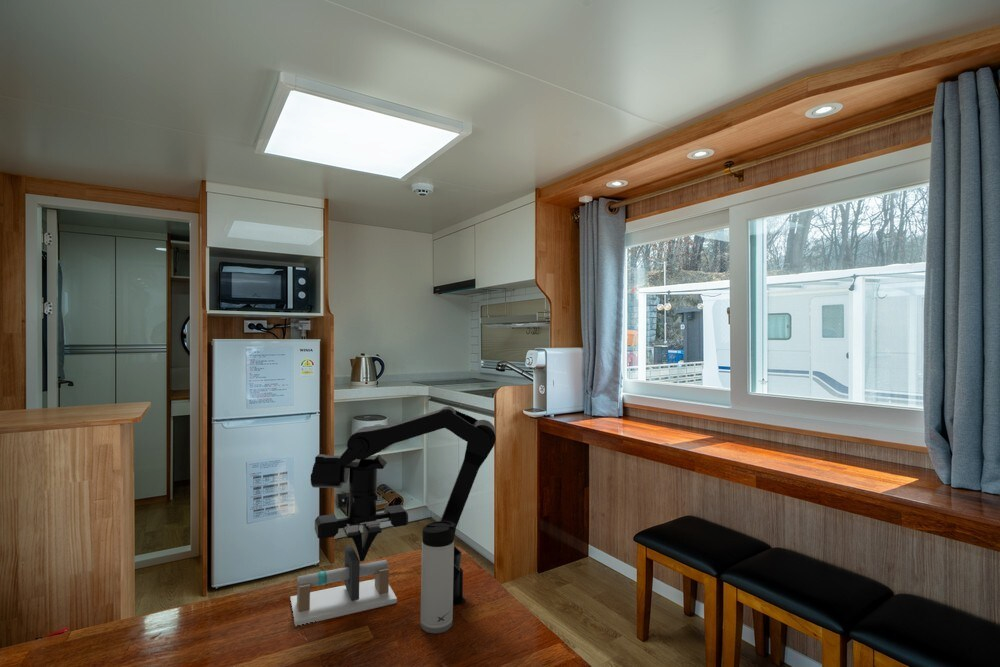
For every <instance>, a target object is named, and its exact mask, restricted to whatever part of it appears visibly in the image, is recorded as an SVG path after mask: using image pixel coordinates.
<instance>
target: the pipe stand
mask: <svg viewBox="0 0 1000 667" xmlns="http://www.w3.org/2000/svg"><path fill="white" fill-rule="evenodd" d="M371 575H374V579H369V580H363V581H359V600H354V601H351V598H350V596H349V593H348V591H347V589H346V586H345V584H344V585H340V586H335V587H330V588H326V589H325V588H324V589H321V590H320V589H319V590H316V591H311V588H312V587H317V586H325V585H327V584H331V583H332V584H333V583H337V582H341V581H344V580H347V579H350V568H349V567H345V566H344V567H339V568H334V569H331V570H330V569H329V570H321V571H317V572H315V573H309V574H304V575H299V576H297V580H296V583H297V584H296V585H297V586H296V587H297V588H296V590H297V591H296V594H295V595H291V596H290V598H289V601H291V602H290V606H292V607H291V611H293V613H292V616H293V617H294V618H293V623H294V627H298V626H297V625H300V626H303V625H302V624H304V625H307V624H306V623H308V624H311V623H310V622H313V623H316V622H320V621H325V620H328V619H334V618H339V617H342V616H346V615H347V616H348V615H351V614H354V613H360V612H364V611H369V610H373V609H376V608H381V607H386V606H390V605H394V604H397V603H398V598H397V596H396V594H395V592H394V591H393V589H392V587H391V585H390V583H389V582H390V581H389V579H390V578H389V577H390V569H389V564H388V559H381V560H377V561H371V562H366V563H360V572H359V578H361V577H362V578H363V577H366V576H371ZM315 621H316V622H315Z"/></svg>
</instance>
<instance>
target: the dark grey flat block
mask: <svg viewBox="0 0 1000 667" xmlns="http://www.w3.org/2000/svg"><path fill="white" fill-rule="evenodd" d="M360 564H361V563H360V560H359V557H358V554H357V552H356V551H355V548H354V547H353V545H347V546H344V568H345V567H349V568H350V579H347V580H343V582H344V583H343V584H344V585H345V586H346V589H347V591H348V593H349V596H350V598H351V601H354V600H359V582H360V577H359V572H360Z"/></svg>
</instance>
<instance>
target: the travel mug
mask: <svg viewBox="0 0 1000 667" xmlns="http://www.w3.org/2000/svg"><path fill="white" fill-rule="evenodd" d="M455 529H456V530H457V527H456V524H455V523H452V522H450V521H439V520H438V521H433V523H431V522H429V523H427V524H426V526H424V527H423V528H422V537H421V538H422V540H421V548H422V550H421V572H420V573H421V576H420V578H421V579H420V582H421V583H420V584H421V585H420V621H419V622H420V623H419V625H420V628H421V629H422V630H423V632H426V633H429V634H442V633H445V632H447V631H448V630H450V628H451V627H452V626H453V618H454V617H453V610H454V609H453V608H454V605H453V571H454V546H455V536H454V530H455Z"/></svg>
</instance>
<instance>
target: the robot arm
mask: <svg viewBox="0 0 1000 667" xmlns="http://www.w3.org/2000/svg"><path fill="white" fill-rule="evenodd" d="M443 429H446V430H447V431H450V432H451V433H453V434H454V435H456V436H457V437H458V438H460V439H461V440H463V441H465V442H466V447H465V448H466V449H465V451H464V453H465V454H464V458H463V461H462V464H461V466H460V469H459V471H458V474H457V476H456V479H455V481H454V484H453V486H452V489H451V492H450V494H449V497H448V500H447V501H446V504H445V507H444V510H443V513H442V515H441V517H440V519H439V520H438V521H450V522H452V523H455V524H456V529H455V530H454V537H455V535H456V530H457V526H458V524H459V521H460V519H461V516H462V514H463V511H464V508H465V506H466V503H467V501H468V498H469V495H470V493H471V490H472V488H473V485H474V482H475V479H476V477H477V474H478V472H479V469H480V468H481V467H482V465H483V463H484V462H485V461H486V459H487V458H488V456H489V455H490V453H491V451H492V449H493V448H494V447H495V445H496V440H497V438H496V436H497V435H496V428H495V425H494V424H493V423H492V422H490V421H489V420H486V419H476V418H475V417H473V416H471V415H469V414H466V413H463V412H461V411H458V410H457V409H455V408H454V407H452V406H444V407H442V408H440V409H438V410H434V411H430V412H428V413H425V414H422V415H419V416H418V415H417V416H414V417H411V418H409V419H405V420H402V421H397V422H395V423H392V424H378V425H377V424H376V425H369V426H363V427H361V428H359V429H358V430H356V431H355V432H354V433H353V434H352V435H351V436H350V437H349V438H348V440H347V444H346V447H347V448H346V450H345V451H344V452H342V453H341V454H340V455H330V454H329V455H328V454H325V453H323V454H322V453H321V454H320V453H319V454H318V455H316V456H315V457H314V464H313V465H312V470H311V474H310V485H311V487H312V488H319V489H320V488H324V489H341V488H342V487H343V485H344V484H347V483H348V496H347V493H346V492H338V493H336V495H335V498H336V500H335V503H336V505H335V506H336V509H343V508H344V510H345V514H346V516H348V517H342V518H338V517H337V516H336V515H335V513H331V514H325V515H318V516H317V517H316V518H315V519H314V532H315V534H316V537H317V539H320V540H322V539H328V538H335V537H336V535H337V534H338V533H339V530H340V529H342V530H343V532H344V535H345V536H346V538H347V539H352V541H353V544H354V547H355V550H356V551H355V552H356V555H357V557H358V559H359V560H360V562H364V561H365V559H366V557H367V554H368V552H369V550H370V548H371V546H372V544H373V542H374V540H375V539H376V537H377V536H378V534H382V532H383V529H382V528H381V525H382V523H384V522H386V523H387V522H390V524H391V525H392V526H393V527H394V528H397V527H402V526H408V525H409V512H407V511H406V510H405V508H404V507H403V506H402V504H396V505H389V506H388V505H387V506H384V510H383V512H377V501H378V494H377V493H378V491H377V489H378V488H377V487H378V486H377V485H378V470H383V469H384V468H385V467H386V465H387V464H388V462H387V461H386V460H385V459H384V458H382V456H381V455H380V454H378V455H377V456H375V458H370V457H372V456H373V455H376V454H377V453H380V452H381V451H383V450H385V449H386V448H388V447H390V446H392V445H394V444H397V443H399V442H403V441H407V440H410V439H413V438H417V437H419V436H420V437H421V436H422V435H426V434H429V433H433V432H436V431H439V430H443ZM355 460H359V461H355ZM433 522H434V521H431V522H430V523H433ZM360 526H362V532H361V530H360ZM420 550H421V551H422V547H421V548H420ZM462 554H463V553H462V551H461V550H460V549H459V548H458V547H457V546H456V545H454V571H453V606H456V605H457V606H458V605H462V604H465V603H466V602H467V600H466V598H465V597H464V596H463V593H464V591H463V590H464V587H463V586H464V570H463V569H462V567H461V563H462V557H463V556H462Z"/></svg>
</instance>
